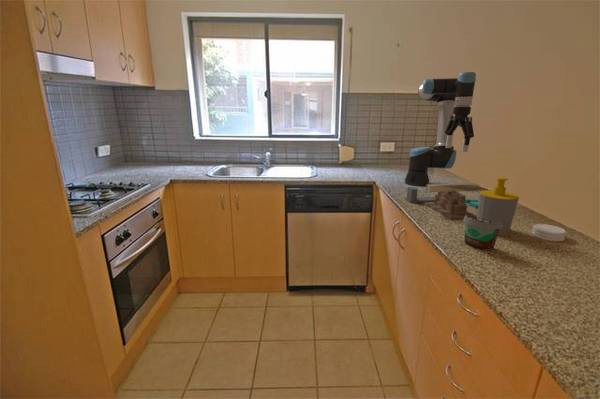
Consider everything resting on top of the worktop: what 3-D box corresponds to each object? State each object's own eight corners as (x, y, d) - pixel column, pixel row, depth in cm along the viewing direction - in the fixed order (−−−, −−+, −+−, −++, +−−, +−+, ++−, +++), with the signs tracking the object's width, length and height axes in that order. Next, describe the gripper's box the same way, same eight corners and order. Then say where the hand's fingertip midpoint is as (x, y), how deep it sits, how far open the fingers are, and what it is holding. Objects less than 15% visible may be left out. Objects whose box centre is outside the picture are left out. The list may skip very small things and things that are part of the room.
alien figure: (455, 201, 164) (487, 213, 145) (456, 197, 163) (487, 209, 145) (486, 198, 169) (520, 209, 150) (487, 194, 168) (521, 205, 150)
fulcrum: (425, 204, 157) (427, 185, 154) (447, 203, 158) (450, 184, 156) (450, 219, 136) (453, 197, 133) (475, 218, 137) (479, 196, 135)
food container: (454, 243, 112) (458, 217, 109) (460, 238, 116) (464, 213, 113) (493, 254, 103) (498, 226, 100) (498, 248, 107) (503, 221, 105)
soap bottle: (510, 227, 127) (521, 176, 121) (512, 238, 116) (524, 183, 110) (474, 221, 133) (482, 173, 127) (473, 231, 123) (482, 179, 117)
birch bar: (425, 190, 144) (426, 184, 144) (473, 189, 147) (474, 182, 146) (428, 192, 142) (429, 185, 141) (477, 190, 144) (478, 184, 144)
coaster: (532, 229, 125) (534, 221, 124) (564, 236, 119) (566, 227, 118) (530, 237, 117) (532, 229, 116) (564, 244, 111) (566, 235, 110)
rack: (405, 199, 166) (406, 186, 164) (447, 198, 169) (448, 185, 167) (410, 202, 160) (411, 189, 158) (453, 201, 163) (455, 188, 161)
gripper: (441, 105, 163) (436, 146, 169) (472, 106, 139) (464, 153, 145) (454, 105, 163) (449, 146, 170) (487, 106, 140) (479, 153, 146)
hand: (456, 149), depth 158 cm, fingers open, 13 cm apart
